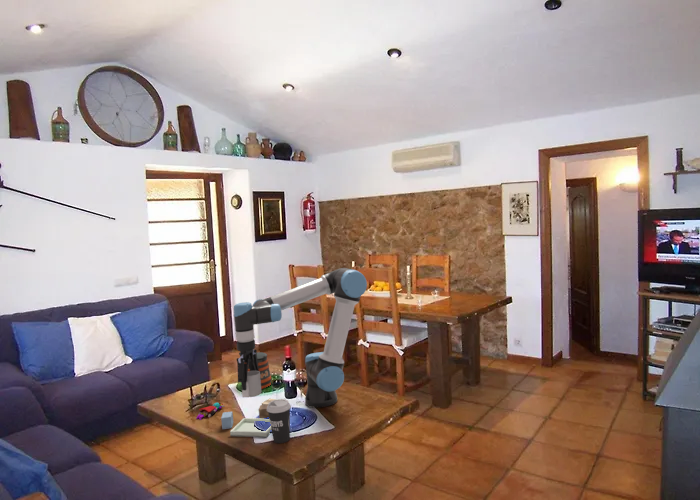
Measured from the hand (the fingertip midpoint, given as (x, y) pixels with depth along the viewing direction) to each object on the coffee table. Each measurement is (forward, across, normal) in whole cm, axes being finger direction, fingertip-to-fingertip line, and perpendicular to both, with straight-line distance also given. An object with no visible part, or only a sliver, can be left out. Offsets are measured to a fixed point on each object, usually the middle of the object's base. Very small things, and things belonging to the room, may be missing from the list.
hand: (250, 393), depth 209 cm
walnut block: (+15, -11, +1) cm, 19 cm away
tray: (+15, +1, +1) cm, 15 cm away
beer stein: (+16, -50, -24) cm, 58 cm away
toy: (+16, -14, -29) cm, 36 cm away
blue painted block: (+16, -2, -13) cm, 20 cm away
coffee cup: (+16, +8, +16) cm, 24 cm away
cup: (+1, -1, 0) cm, 1 cm away
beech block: (+15, -20, -2) cm, 25 cm away
